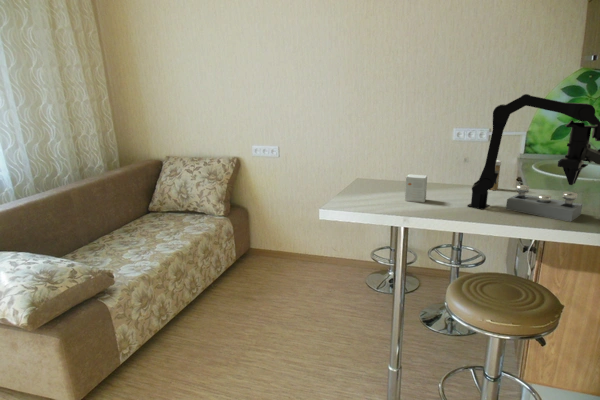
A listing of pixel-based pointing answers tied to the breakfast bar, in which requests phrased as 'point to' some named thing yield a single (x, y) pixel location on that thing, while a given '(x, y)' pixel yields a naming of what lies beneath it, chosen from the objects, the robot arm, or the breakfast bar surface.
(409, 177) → the small box
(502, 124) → the robot arm
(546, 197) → the knob middle
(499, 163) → the sprinkles bottle
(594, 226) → the breakfast bar surface
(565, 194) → the knob right
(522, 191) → the knob left
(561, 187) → the breakfast bar surface
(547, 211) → the mount
